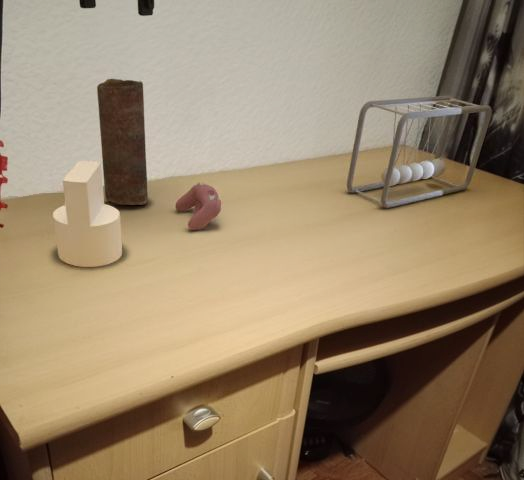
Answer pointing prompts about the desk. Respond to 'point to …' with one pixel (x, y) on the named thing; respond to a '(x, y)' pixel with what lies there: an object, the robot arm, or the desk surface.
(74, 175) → the base with upright slab
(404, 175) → the newton's cradle
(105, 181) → the rusty brown cylinder
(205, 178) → the desk surface
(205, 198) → the video game controller
